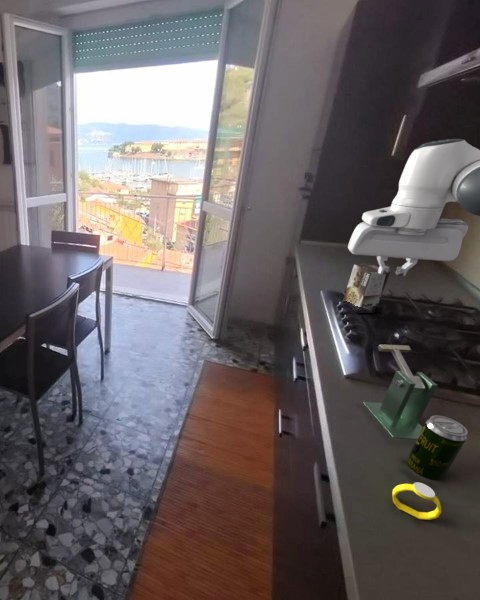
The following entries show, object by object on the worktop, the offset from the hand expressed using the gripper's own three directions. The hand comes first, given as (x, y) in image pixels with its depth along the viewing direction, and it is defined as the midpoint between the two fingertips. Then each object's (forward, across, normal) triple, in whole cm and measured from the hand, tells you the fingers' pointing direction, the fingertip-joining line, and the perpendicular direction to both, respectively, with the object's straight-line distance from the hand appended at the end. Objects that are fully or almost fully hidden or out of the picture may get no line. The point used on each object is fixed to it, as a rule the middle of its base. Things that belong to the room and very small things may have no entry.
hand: (391, 274), depth 87 cm
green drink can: (+28, -2, +34) cm, 45 cm away
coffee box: (+28, -12, -43) cm, 53 cm away
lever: (+16, -1, +17) cm, 24 cm away
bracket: (+28, -2, +21) cm, 35 cm away
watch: (+28, +4, +45) cm, 53 cm away
